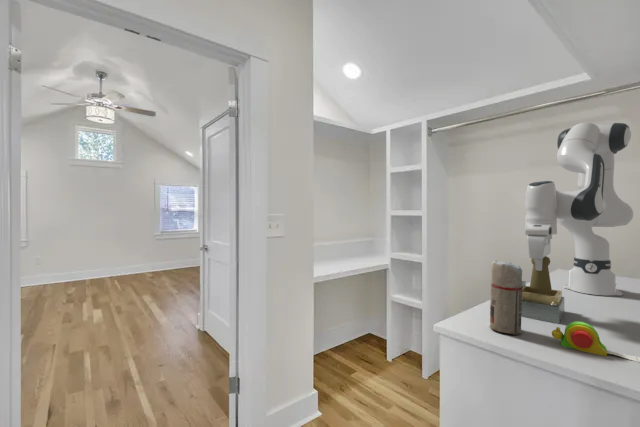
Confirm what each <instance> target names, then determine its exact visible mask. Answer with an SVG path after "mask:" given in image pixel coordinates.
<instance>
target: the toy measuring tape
mask: <svg viewBox="0 0 640 427" xmlns="http://www.w3.org/2000/svg"><path fill="white" fill-rule="evenodd" d="M551 336H552V338H554V339H555V340H560V346H562V347H564V348H565V347H566V348H569V349H574V350H578V351H581V352H584V353H590V354H594V355H599V356H604V357H607V355H613V356H618V357H620V358H623V359H626V360H629V361H633V362H636V363H640V357H639V356H635V355H628V354H624V353H619V352H614V351H610V350H607V349H608V348H607V347H606V346H605V345H604V344H603V342H602V341H601V340H600V336H599V333H598V331H597V330H596V329H595V327H594V326H592V325H591V324H589V323H587V322H583V321H573V322H570V323H568V324H567V325H566V326H565V328H564V333H563V332H562V331H561V327H559V326H556V328H555V329H553V330H552V331H551Z"/></svg>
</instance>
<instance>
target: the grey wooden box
mask: <svg viewBox="0 0 640 427" xmlns="http://www.w3.org/2000/svg"><path fill="white" fill-rule="evenodd" d="M526 284H527V282H526V281H524V280H522V311H521V312H522V316H521V317H524V318H527V319H528V318H529V319H534V320H537V321H542V322H549V323H553V324H558V325H559V324H560V323H561V320H562V318H563V316H564V314H565V296H563V291H562V290H558V289H552V290H539V289H534V288H531V287H530V285H526Z"/></svg>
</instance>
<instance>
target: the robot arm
mask: <svg viewBox="0 0 640 427" xmlns="http://www.w3.org/2000/svg"><path fill="white" fill-rule="evenodd" d="M631 138H632V131H631V129H630V126H629V125H628V124H627V123H624V122H613V123H599V124H595V123H592V122H581V123H577V124H575V125H574V126H572V127H571V128H566V129H563V130H562V131H561V132H560V133H559V135H558V136H557V141H556V144H557V149H558V150H557V153H556V161H557V163H558V164H559V165H560V167H561V168H563V169H565V170H566V171H568V172H572V173H578V174H577V188H579V189H578V190H565V191H564V190H563V191H561V190H559V191H558V190H557V189H556V185H555V182H554V181H552V180H544V181H543V180H542V181H534V182H531V183H529V184H528V185H527V187H526V190H525V196H524V197H525V198H524V209H525V213H526V214H525V218H524V235H525V236H526V235H527V236H526V240H527V242H526V243H527V250H528V257H529V258H530V259H532V258H534V261H535V268H536V270H537V271H542V269H543V265H542V261H543V258H544V257H545V256H546V257H548V255H550V254H551V250H552V249H551V246H552V245H551V240H552V239H553V235H557V234H558V226H557V224H558V223H559V224H560V225H561V226H563V228H565V229H567V230H568V232H569V233H570V235H571V236H572V238H573V243H574V244H573V245H574V257H573V260H572V261H573V267H572V268H570V269H569V271H568V274H569V275H568V283H567V284H564V285H563V288H564V289H567V290H571V291H574V292H578V293H581V294H587V295H594V296H608V297H609V296H610V297H611V296H618V297H620V296H623V292H621V291H620V290H618V289H617V288H616V287H617V283H616V280H617V279H616V274H614V272H612V270H611V269H612V261H611V260H610V242H609V241H608V240H607V239H606V238H605V237H603V236H600V235H598V234H596V233H594V231H593V227H594V228H595V227H597V228H614V227H621V226H626V225H628V224H630V222H631V221H632V219H633V218H634V210H633V208H632V207H631V205H630V204H628V203H627V202H625V201H623V200H622V199H621V198H620V197H619V196H618V194H617V193H616V190H615V187H614V171H615V154H617V153H618V152H620V151H623V149H625V148H627V147H628V144H629V143H630V141H631Z"/></svg>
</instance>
